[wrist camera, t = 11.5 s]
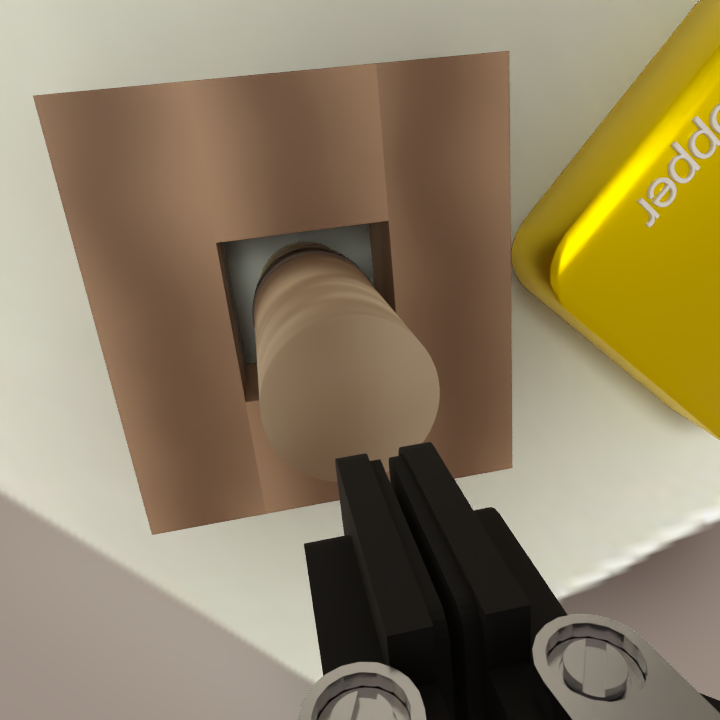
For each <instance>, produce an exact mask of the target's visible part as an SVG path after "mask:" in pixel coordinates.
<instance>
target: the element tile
mask: <svg viewBox="0 0 720 720" xmlns="http://www.w3.org/2000/svg"><path fill="white" fill-rule="evenodd" d="M511 258H512V266H513V269H514V271H515V273H516V275H517V278H518V279H519V281H520V282H521V283H522V284H523V285H524V287H525V288H526V289H527V290H529V291H530V292H531V293H532V294H533V295H535V296H536V297H537V298H538V299H539V300H541V301H542V302H543V303H544V304H545V305H547V306H548V307H549V308H550V309H552V310H553V311H554V312H555V313H556V314H558V315H559V316H560V317H561V318H562V319H564V320H565V321H566V322H567V323H568V324H570V325H571V326H572V327H573V328H574V329H576V330H577V331H578V332H579V333H581V334H582V335H583V336H584V337H585V338H587V339H588V340H589V341H590V342H591V343H593V344H594V345H595V346H596V347H597V348H599V349H600V350H601V351H602V352H603V353H605V354H606V355H607V356H608V357H610V358H611V359H612V360H613V361H614V362H616V363H617V364H618V365H619V366H620V367H622V368H623V369H624V370H625V371H626V372H628V373H629V374H630V375H631V376H632V377H634V378H635V379H636V380H637V381H639V382H640V383H641V384H642V385H643V386H645V387H646V388H647V389H648V390H649V391H651V392H652V393H653V394H654V395H655V396H657V397H658V398H659V399H660V400H661V401H663V402H664V403H665V404H666V405H667V406H669V407H670V408H671V409H673V410H674V411H676V412H677V413H679V414H681V415H682V416H684V417H685V418H687V419H688V420H690V421H691V422H693V423H694V424H696V425H697V426H699V427H701V428H702V429H704V430H705V431H707V432H708V433H710V434H711V435H713V436H714V437H716V438H717V439H719V440H720V0H700V1H699V2H698V3H697V4H696V5H695V6H694V8H693V9H692V10H691V11H690V13H689V14H688V15H687V16H686V18H685V19H684V20H683V21H682V23H681V24H680V25H679V26H678V28H677V29H676V30H675V31H674V33H673V34H672V35H671V36H670V38H669V39H668V40H667V41H666V43H665V44H664V45H663V46H662V48H661V49H660V50H659V51H658V53H657V54H656V55H655V56H654V58H653V59H652V60H651V61H650V63H649V64H648V65H647V66H646V68H645V69H644V70H643V71H642V73H641V74H640V75H639V77H638V78H637V79H636V80H635V82H634V83H633V84H632V85H631V87H630V88H629V89H628V90H627V92H626V93H625V94H624V95H623V97H622V98H621V99H620V100H619V102H618V103H617V104H616V105H615V107H614V108H613V109H612V110H611V112H610V113H609V114H608V115H607V117H606V118H605V119H604V120H603V122H602V123H601V124H600V125H599V127H598V128H597V129H596V130H595V132H594V133H593V134H592V135H591V137H590V138H589V139H588V140H587V142H586V143H585V144H584V145H583V147H582V148H581V149H580V150H579V152H578V153H577V154H576V156H575V157H574V158H573V159H572V161H571V162H570V163H569V164H568V166H567V167H566V168H565V169H564V171H563V172H562V173H561V174H560V176H559V177H558V178H557V179H556V181H555V182H554V183H553V184H552V186H551V187H550V188H549V189H548V191H547V192H546V193H545V194H544V196H543V197H542V198H541V199H540V201H539V202H538V203H537V204H536V206H535V207H534V208H533V209H532V211H531V212H530V213H529V214H528V216H527V217H526V218H525V219H524V221H523V223H522V224H521V226H520V228H519V229H518V231H517V233H516V236H515V239H514V242H513V245H512V248H511Z"/></svg>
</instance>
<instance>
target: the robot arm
mask: <svg viewBox="0 0 720 720" xmlns="http://www.w3.org/2000/svg"><path fill="white" fill-rule="evenodd" d="M335 466H336V474H337V481H338V489H339V497H340V504H341V512H342V520H343V527H344V535H345V536H341V537H336V538H331V539H326V540H321V541H316V542H311V543H306V544H304V548H305V554H306V561H307V568H308V575H309V582H310V588H311V595H312V602H313V609H314V615H315V622H316V629H317V636H318V643H319V649H320V656H321V663H322V670H323V677H322V678H321V679H320V680H319V681H317V682H316V683H315V684H314V685H313V686H312V687H311V688H310V690H309V692H308V693H307V695H306V697H305V698H304V700H303V702H302V704H301V708H300V712H299V717H298V720H720V701H719V700H716V699H713V698H711V697H708V696H706V695H703V694H701V693H699V692H698V691H697V690H696V689H695V688H694V687H692V685H690V683H689V682H687V681H686V680H685V679H684V678H683V677H682V676H681V675H680V674H679V673H678V672H677V671H676V670H675V669H674V668H673V667H672V666H671V665H670V664H669V663H668V662H667V661H666V660H665V659H664V658H663V657H662V656H661V655H660V654H659V653H658V652H657V651H656V650H655V649H654V648H653V647H652V646H651V645H650V644H649V643H648V642H647V641H646V640H645V639H643V638H642V637H641V636H640V635H638V634H637V633H636V632H634V631H633V630H632V629H631V628H629V627H627V626H625V625H623V624H621V623H619V622H617V621H614V620H613V619H609V618H605V617H601V616H597V615H593V614H571V615H567V614H566V612H565V611H564V609H563V608H562V606H561V605H560V603H559V602H558V600H557V599H556V597H555V596H554V594H553V593H552V591H551V590H550V588H549V587H548V585H547V584H546V582H545V581H544V579H543V578H542V576H541V575H540V573H539V572H538V570H537V569H536V567H535V566H534V564H533V563H532V561H531V560H530V559H529V557H528V556H527V554H526V553H525V551H524V550H523V548H522V547H521V545H520V544H519V542H518V541H517V539H516V538H515V536H514V535H513V533H512V532H511V530H510V529H509V527H508V526H507V524H506V523H505V521H504V520H503V518H502V517H501V515H500V514H499V513H498V512H497V511H496V509H494V508H492V507H490V508H484V509H479V510H474V511H473V509H472V508H471V506H470V504H469V503H468V501H467V499H466V498H465V496H464V495H463V493H462V491H461V490H460V488H459V486H458V485H457V483H456V481H455V480H454V478H453V477H452V475H451V473H450V472H449V470H448V468H447V467H446V465H445V463H444V462H443V460H442V458H441V457H440V455H439V454H438V452H437V450H436V449H435V447H434V445H433V444H432V443H431V442H426V443H420V444H415V445H409V446H403V447H399V452H398V456H395V457H389V474H390V481H389V479H388V476H387V474H386V471H385V469H384V467H383V464H382V462H381V460H380V459H378V460H373V461H370V460H369V458H368V455H367V453H364V454H359V455H353V456H347V457H342V458H336V459H335Z"/></svg>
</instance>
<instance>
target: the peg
mask: <svg viewBox="0 0 720 720" xmlns="http://www.w3.org/2000/svg"><path fill="white" fill-rule="evenodd" d="M253 323H254V328H255V337H256V353H257V369H258V385H259V401H260V413H261V420H262V424H263V428H264V431H265V433H266V436H267V438H268V440H269V442H270V443H271V445H272V447H273V448H274V449H275V451H276V452H277V453H278V454H279V456H280V457H281V458H282V459H284V460H285V461H286V462H287V463H288V464H289V465H291V466H292V467H293V468H295V469H296V470H298V471H300V472H302V473H304V474H306V475H308V476H311V477H314V478H316V479H320V480H325V481H331V482H338V481H337V474H336V466H335V459H336V458H342V457H347V456H353V455H359V454H364V453H367V455H368V458H369V460H370V461H373V460H378V459H380V460H381V462H382V464H383V467H384V469H385V471H386V472H388V471H389V457H395V456H398V452H399V447H403V446H409V445H415V444H420V443H423V441H424V440H425V439H426V437H427V435H428V434H429V432H430V430H431V428H432V426H433V423H434V421H435V418H436V415H437V411H438V406H439V399H440V387H439V379H438V375H437V371H436V367H435V365H434V363H433V361H432V358H431V357H430V355H429V353H428V352H427V350H426V349H425V347H424V346H423V345H422V344H421V343H420V341H419V340H418V339H417V338H416V337H415V335H414V334H413V333H412V332H411V331H410V330H409V328H408V327H407V326H406V325H405V324H404V322H403V321H402V320H401V319H400V318H399V316H398V315H397V314H396V313H395V312H394V311H393V309H392V308H391V307H390V306H389V305H388V303H387V302H386V301H385V300H384V299H383V297H382V296H381V295H380V294H379V293H378V292H377V290H376V289H375V288H374V287H373V286H372V284H371V282H370V281H369V279H368V278H367V276H366V275H365V274H364V273H363V272H362V270H361V269H360V268H359V267H358V266H357V265H356V264H355V263H354V262H352V261H351V260H349V259H348V258H346V257H345V256H343V255H342V254H340V253H338V252H336V251H333V250H331V249H329V248H328V247H326V246H324V245H321V244H318V243H314V242H297V243H292V244H289V245H287V246H285V247H283V248H281V249H280V250H278V251H277V252H276V253H274V254H273V255H272V256H271V258H270V259H269V260H268V261H267V263H266V265H265V267H264V269H263V271H262V274H261V278H260V280H259V282H258V284H257V287H256V291H255V295H254V300H253Z"/></svg>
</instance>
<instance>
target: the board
mask: <svg viewBox="0 0 720 720" xmlns="http://www.w3.org/2000/svg"><path fill="white" fill-rule="evenodd" d="M33 97H34V101H35V105H36V109H37V112H38V116H39V120H40V123H41V127H42V131H43V134H44V138H45V142H46V145H47V149H48V153H49V156H50V160H51V164H52V167H53V171H54V175H55V179H56V182H57V186H58V190H59V193H60V197H61V201H62V204H63V208H64V212H65V215H66V219H67V223H68V226H69V230H70V234H71V237H72V241H73V245H74V249H75V252H76V256H77V260H78V263H79V267H80V271H81V274H82V278H83V282H84V285H85V289H86V293H87V296H88V300H89V304H90V307H91V311H92V315H93V319H94V322H95V326H96V330H97V333H98V337H99V341H100V344H101V348H102V352H103V355H104V359H105V363H106V366H107V370H108V374H109V378H110V381H111V385H112V389H113V392H114V396H115V400H116V403H117V407H118V411H119V414H120V418H121V422H122V425H123V429H124V433H125V436H126V440H127V444H128V448H129V451H130V455H131V459H132V462H133V466H134V470H135V473H136V477H137V481H138V484H139V488H140V492H141V495H142V499H143V503H144V506H145V510H146V514H147V518H148V521H149V525H150V529H151V532H152V535H154V534H159V533H165V532H170V531H176V530H181V529H186V528H192V527H197V526H202V525H208V524H213V523H219V522H224V521H229V520H235V519H240V518H245V517H251V516H256V515H262V514H267V513H272V512H278V511H283V510H288V509H294V508H299V507H305V506H310V505H315V504H321V503H326V502H331V501H337V500H340V497H339V489H338V482H331V481H325V480H320V479H316V478H314V477H311V476H308V475H306V474H304V473H302V472H300V471H298V470H296V469H295V468H293V467H292V466H291V465H289V464H288V463H287V462H286V461H285V460H284V459H282V458H281V457H280V456H279V454H278V453H277V452H276V451H275V449H274V448H273V447H272V445H271V443H270V442H269V440H268V438H267V436H266V433H265V431H264V428H263V424H262V420H261V413H260V401H259V385H258V369H257V363H252V364H246V365H245V360H244V354H243V349H242V343H241V338H240V332H239V327H238V321H237V316H236V310H235V304H234V299H233V293H232V288H231V282H230V277H229V271H228V266H227V260H226V255H225V249H224V244H223V242H226V241H234V240H242V239H250V238H258V237H265V236H273V235H281V234H289V233H297V232H304V231H312V230H320V229H328V228H336V227H343V226H351V225H359V224H367V223H369V229H370V240H371V251H372V262H373V273H374V283H375V289H376V290H377V292H378V293H379V294H380V295H381V296H382V297H383V299H384V300H385V301H386V302H387V303H388V305H389V306H390V307H391V308H392V309H393V311H394V312H395V313H396V314H397V315H398V316H399V318H400V319H401V320H402V321H403V322H404V324H405V325H406V326H407V327H408V328H409V330H410V331H411V332H412V333H413V334H414V335H415V337H416V338H417V339H418V340H419V341H420V343H421V344H422V345H423V346H424V347H425V349H426V350H427V352H428V353H429V355H430V357H431V358H432V361H433V363H434V365H435V367H436V371H437V375H438V379H439V387H440V399H439V406H438V411H437V415H436V418H435V421H434V423H433V426H432V428H431V430H430V432H429V434H428V435H427V437H426V439H425V440H424V441H423V443H426V442H431V443H432V444H433V445H434V447H435V449H436V450H437V452H438V454H439V455H440V457H441V458H442V460H443V462H444V463H445V465H446V467H447V468H448V470H449V472H450V473H451V475H452V477H453V478H454V479H455V478H460V477H466V476H471V475H477V474H482V473H487V472H493V471H498V470H503V469H509V468H512V361H511V223H510V85H509V51H502V52H492V53H481V54H471V55H460V56H449V57H439V58H428V59H418V60H407V61H396V62H386V63H375V64H365V65H354V66H343V67H333V68H322V69H312V70H301V71H290V72H280V73H269V74H259V75H248V76H237V77H227V78H216V79H206V80H195V81H184V82H174V83H163V84H153V85H142V86H131V87H121V88H110V89H100V90H89V91H78V92H68V93H57V94H47V95H36V96H33ZM386 474H387V476H388V479H389V481H390V474H389V471H388V472H386Z"/></svg>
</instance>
